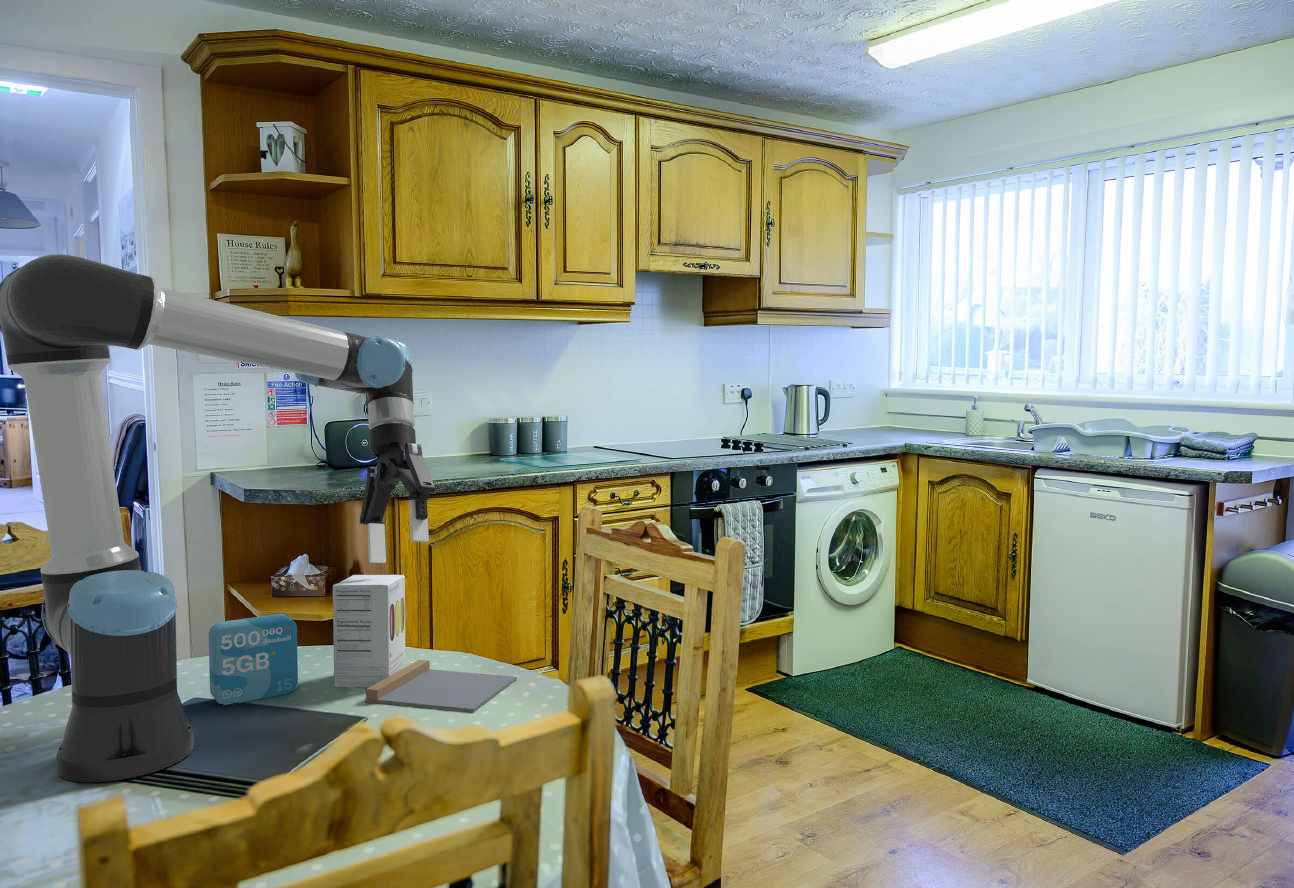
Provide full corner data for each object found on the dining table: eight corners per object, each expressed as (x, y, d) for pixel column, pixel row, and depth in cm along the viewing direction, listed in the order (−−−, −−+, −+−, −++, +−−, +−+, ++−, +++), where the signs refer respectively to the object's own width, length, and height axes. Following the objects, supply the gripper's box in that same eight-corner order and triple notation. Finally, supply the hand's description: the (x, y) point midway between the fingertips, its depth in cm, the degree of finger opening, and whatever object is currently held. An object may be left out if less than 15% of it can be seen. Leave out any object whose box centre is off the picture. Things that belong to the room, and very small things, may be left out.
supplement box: (389, 689, 140) (388, 585, 140) (332, 688, 141) (330, 584, 140) (407, 670, 150) (405, 573, 149) (353, 670, 150) (352, 573, 149)
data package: (215, 708, 132) (214, 629, 131) (209, 700, 135) (208, 623, 135) (298, 692, 139) (297, 617, 138) (290, 685, 142) (289, 612, 142)
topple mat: (366, 701, 134) (366, 688, 134) (419, 671, 150) (418, 659, 150) (473, 712, 130) (473, 698, 130) (516, 679, 145) (516, 667, 145)
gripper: (451, 406, 142) (460, 533, 135) (376, 455, 158) (381, 570, 151) (409, 398, 137) (417, 530, 130) (337, 450, 153) (340, 569, 146)
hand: (398, 552), depth 140 cm, fingers open, 13 cm apart
